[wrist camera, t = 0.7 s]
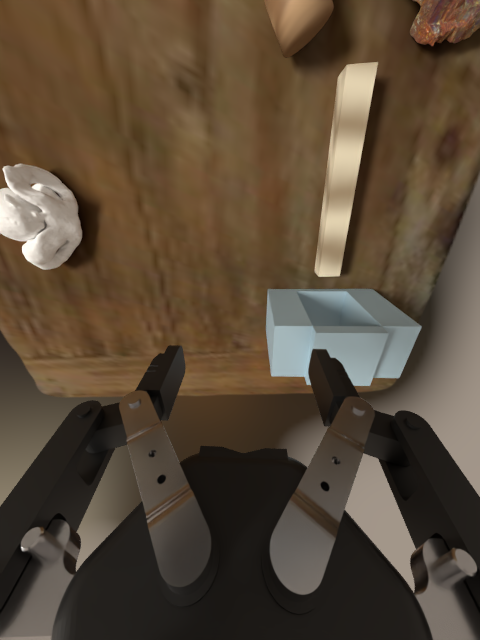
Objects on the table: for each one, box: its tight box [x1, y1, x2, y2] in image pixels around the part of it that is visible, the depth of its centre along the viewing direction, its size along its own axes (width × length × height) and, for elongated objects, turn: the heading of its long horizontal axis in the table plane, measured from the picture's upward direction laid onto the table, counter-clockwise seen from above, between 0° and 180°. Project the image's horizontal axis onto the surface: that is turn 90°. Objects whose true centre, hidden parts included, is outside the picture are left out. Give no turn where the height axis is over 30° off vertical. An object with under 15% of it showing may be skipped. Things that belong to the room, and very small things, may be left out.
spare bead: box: [265, 0, 334, 58], centre depth 21 cm, size 4×5×5 cm
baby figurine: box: [0, 164, 82, 270], centre depth 30 cm, size 9×13×9 cm
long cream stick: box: [315, 62, 378, 277], centre depth 29 cm, size 22×3×3 cm, turn 3°
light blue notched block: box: [266, 289, 421, 386], centre depth 33 cm, size 8×17×14 cm, turn 91°
